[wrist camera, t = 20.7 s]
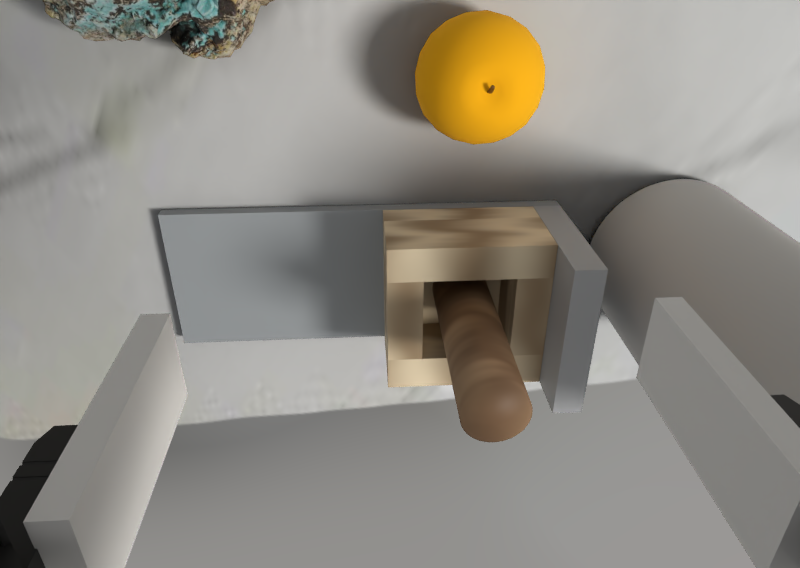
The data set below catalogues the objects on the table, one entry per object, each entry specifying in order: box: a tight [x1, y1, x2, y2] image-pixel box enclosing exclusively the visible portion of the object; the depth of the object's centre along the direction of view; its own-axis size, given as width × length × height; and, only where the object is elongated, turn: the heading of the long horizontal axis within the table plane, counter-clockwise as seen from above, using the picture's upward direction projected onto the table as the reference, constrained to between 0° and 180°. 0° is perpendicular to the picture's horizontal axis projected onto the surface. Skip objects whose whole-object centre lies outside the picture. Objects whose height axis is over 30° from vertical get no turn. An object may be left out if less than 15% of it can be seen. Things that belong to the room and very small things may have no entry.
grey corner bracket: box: [158, 200, 608, 413], centre depth 44 cm, size 29×11×11 cm, turn 90°
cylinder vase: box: [590, 179, 800, 404], centre depth 38 cm, size 12×12×25 cm
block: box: [383, 206, 558, 387], centre depth 45 cm, size 11×11×6 cm
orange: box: [415, 10, 545, 144], centre depth 38 cm, size 8×8×8 cm
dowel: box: [432, 280, 532, 442], centre depth 40 cm, size 4×4×14 cm
